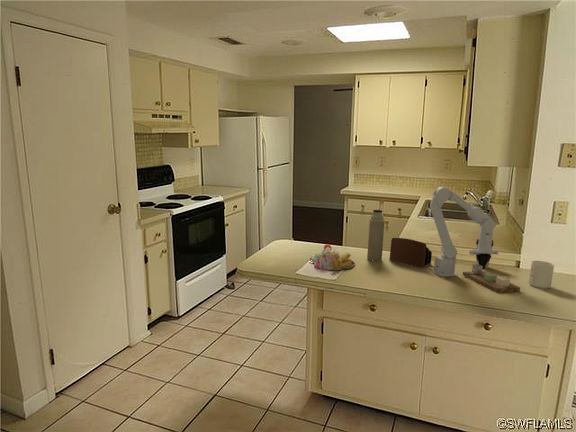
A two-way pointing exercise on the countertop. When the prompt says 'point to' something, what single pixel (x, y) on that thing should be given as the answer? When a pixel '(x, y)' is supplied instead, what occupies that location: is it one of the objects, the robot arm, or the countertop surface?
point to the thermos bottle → (376, 236)
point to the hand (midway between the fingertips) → (481, 268)
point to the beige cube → (502, 281)
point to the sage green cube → (490, 277)
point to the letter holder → (410, 252)
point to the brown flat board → (490, 283)
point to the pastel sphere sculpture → (332, 259)
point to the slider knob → (477, 269)
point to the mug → (541, 274)
